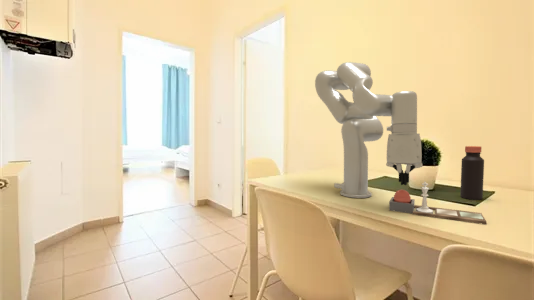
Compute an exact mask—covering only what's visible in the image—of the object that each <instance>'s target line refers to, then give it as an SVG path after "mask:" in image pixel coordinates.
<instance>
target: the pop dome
mask: <svg viewBox="0 0 534 300" xmlns="http://www.w3.org/2000/svg"><path fill="white" fill-rule="evenodd" d="M393 197H394V202H402V203H411V199H412V197H411V194H410V193H409V191H407V190H406V189H398V190H396V191H395V192H394V195H393Z"/></svg>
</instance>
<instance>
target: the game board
mask: <svg viewBox="0 0 534 300" xmlns="http://www.w3.org/2000/svg"><path fill="white" fill-rule="evenodd" d="M420 206H421V205H418V204H417V205H416V204H414V209H416V208H421V207H420ZM428 207H429V208H428V209H431V210H433V212H434V211H435V212H434V213H433V214H432V213H424V212H416V210H414V211H413V214H412V215H414V216H420V217H421V216H422V217H429V218H434V219H436V218H437V219H444V220H451V221H457V222H459V221H460V222H466V223H472V222H474V224H479V223H482V224H481V225H487V221H486V218H485V217H484V215H483V214H482V212H477V211H476V212H474V211H467V210H458V209H452V208H451V209H450V208H443V207H435V206H434V207H433V206H428Z"/></svg>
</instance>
